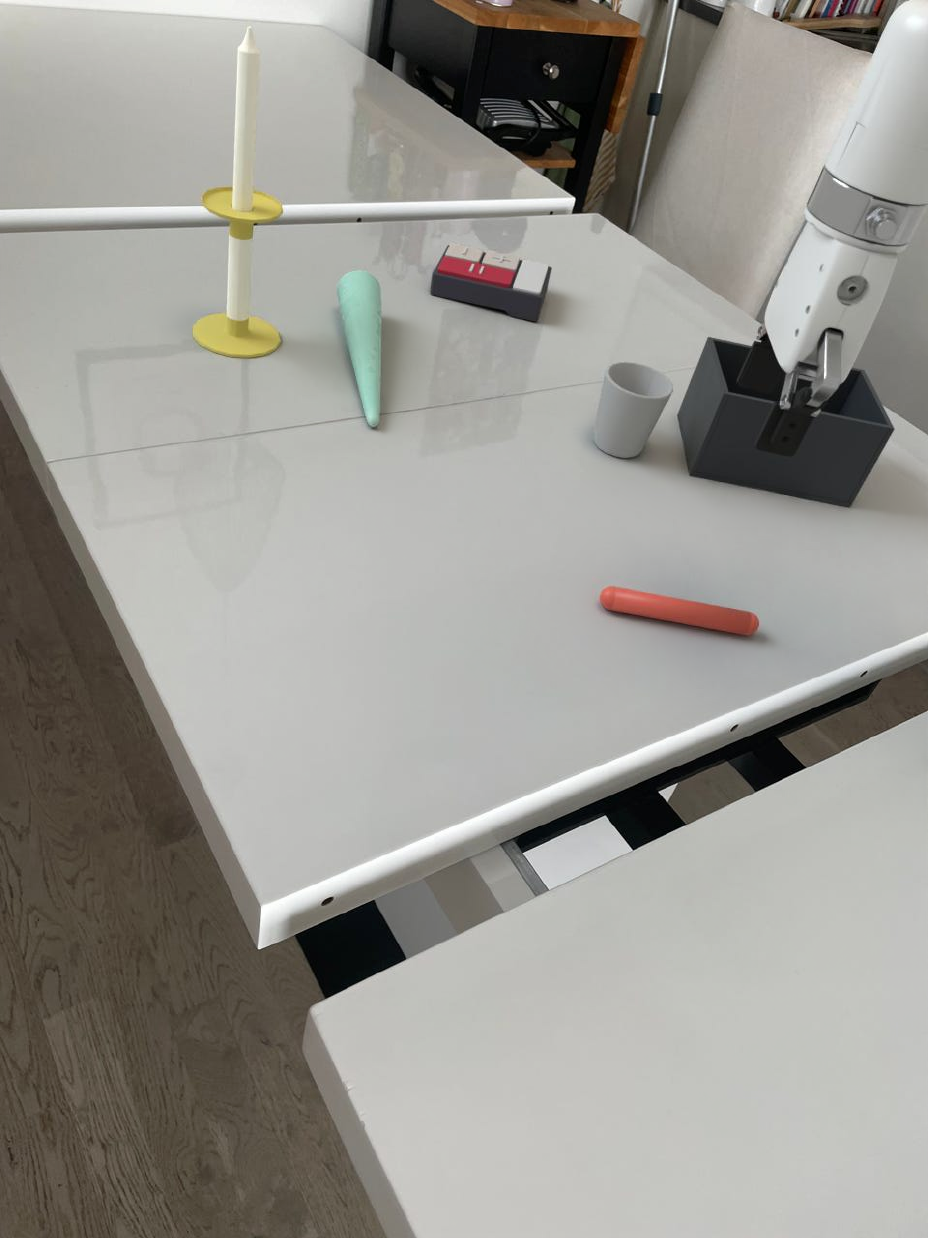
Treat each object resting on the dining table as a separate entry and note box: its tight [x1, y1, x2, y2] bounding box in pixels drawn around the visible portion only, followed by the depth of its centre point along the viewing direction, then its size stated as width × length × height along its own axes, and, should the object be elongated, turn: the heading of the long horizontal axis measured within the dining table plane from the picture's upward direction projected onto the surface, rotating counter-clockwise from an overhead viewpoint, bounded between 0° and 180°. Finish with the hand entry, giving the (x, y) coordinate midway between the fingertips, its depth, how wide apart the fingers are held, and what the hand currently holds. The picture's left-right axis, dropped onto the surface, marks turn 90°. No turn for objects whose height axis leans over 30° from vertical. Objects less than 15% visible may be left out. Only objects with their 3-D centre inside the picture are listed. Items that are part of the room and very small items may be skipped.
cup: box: [592, 361, 674, 459], centre depth 111 cm, size 8×10×8 cm
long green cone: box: [336, 269, 382, 428], centre depth 113 cm, size 5×6×27 cm
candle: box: [192, 19, 284, 359], centre depth 103 cm, size 10×10×32 cm
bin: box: [676, 336, 896, 508], centre depth 113 cm, size 19×13×11 cm
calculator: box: [429, 242, 552, 322], centre depth 134 cm, size 11×4×15 cm
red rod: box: [599, 585, 760, 636], centre depth 91 cm, size 15×2×2 cm, turn 87°
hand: (762, 418), depth 80 cm, fingers open, 9 cm apart
